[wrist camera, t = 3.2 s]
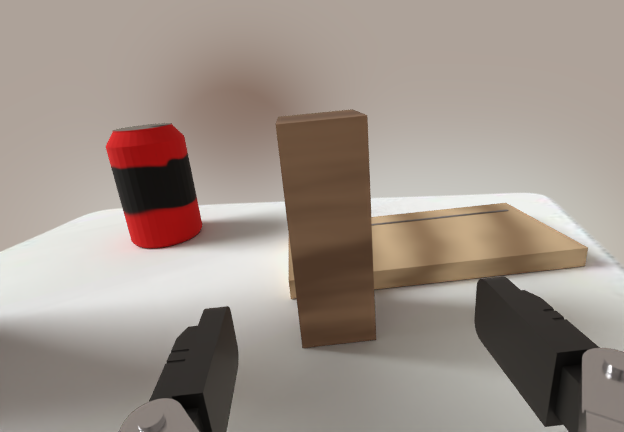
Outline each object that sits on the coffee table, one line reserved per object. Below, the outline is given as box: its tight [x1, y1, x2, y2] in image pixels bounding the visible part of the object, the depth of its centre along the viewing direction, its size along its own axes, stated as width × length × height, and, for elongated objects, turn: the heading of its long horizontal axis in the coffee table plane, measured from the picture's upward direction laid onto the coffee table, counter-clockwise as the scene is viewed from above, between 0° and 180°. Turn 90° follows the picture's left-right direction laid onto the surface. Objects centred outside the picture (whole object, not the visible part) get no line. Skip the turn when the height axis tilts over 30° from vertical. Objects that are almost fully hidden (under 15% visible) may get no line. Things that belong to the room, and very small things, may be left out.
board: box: [289, 203, 588, 299], centre depth 33 cm, size 22×11×2 cm, turn 94°
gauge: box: [276, 110, 376, 348], centre depth 27 cm, size 15×4×13 cm, turn 4°
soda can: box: [106, 123, 202, 248], centre depth 40 cm, size 8×8×12 cm
